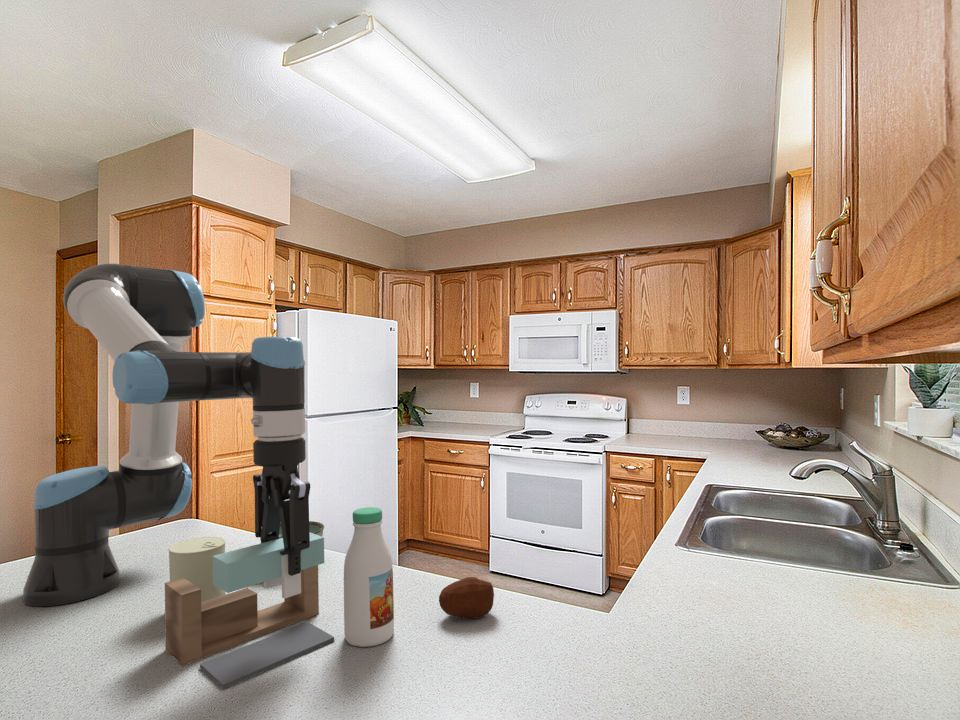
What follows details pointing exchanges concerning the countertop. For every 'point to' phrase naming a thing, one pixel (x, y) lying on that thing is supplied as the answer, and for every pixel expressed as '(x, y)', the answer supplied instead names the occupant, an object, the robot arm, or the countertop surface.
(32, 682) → the countertop surface
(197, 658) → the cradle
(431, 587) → the countertop surface
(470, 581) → the potato
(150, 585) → the countertop surface
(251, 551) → the slab
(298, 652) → the mat
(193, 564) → the can
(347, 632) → the milk bottle
